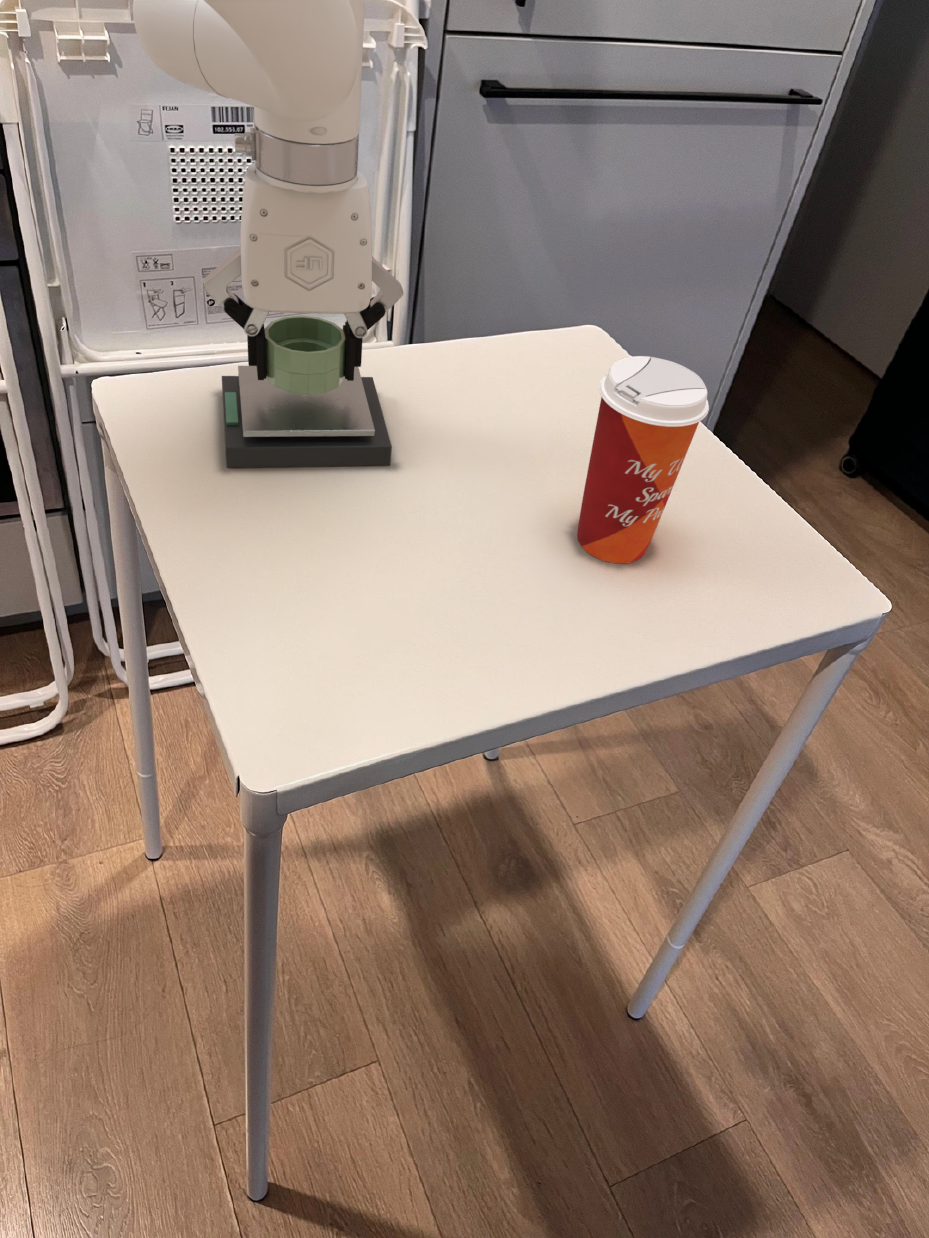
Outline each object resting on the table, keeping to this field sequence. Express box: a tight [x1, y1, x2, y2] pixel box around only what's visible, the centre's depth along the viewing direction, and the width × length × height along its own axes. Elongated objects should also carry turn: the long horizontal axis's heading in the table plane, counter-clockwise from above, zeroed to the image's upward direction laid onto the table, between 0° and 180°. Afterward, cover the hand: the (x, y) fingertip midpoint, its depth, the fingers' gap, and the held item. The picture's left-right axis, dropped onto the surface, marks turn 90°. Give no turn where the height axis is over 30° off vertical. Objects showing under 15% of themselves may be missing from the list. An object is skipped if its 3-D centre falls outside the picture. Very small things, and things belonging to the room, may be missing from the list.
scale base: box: [221, 375, 393, 469], centre depth 85 cm, size 14×12×2 cm
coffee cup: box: [576, 355, 710, 564], centre depth 74 cm, size 8×8×15 cm
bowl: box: [264, 315, 346, 395], centre depth 81 cm, size 7×7×4 cm
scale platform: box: [237, 365, 375, 437], centre depth 84 cm, size 11×11×1 cm
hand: (304, 371), depth 82 cm, fingers closed on bowl, 6 cm apart
